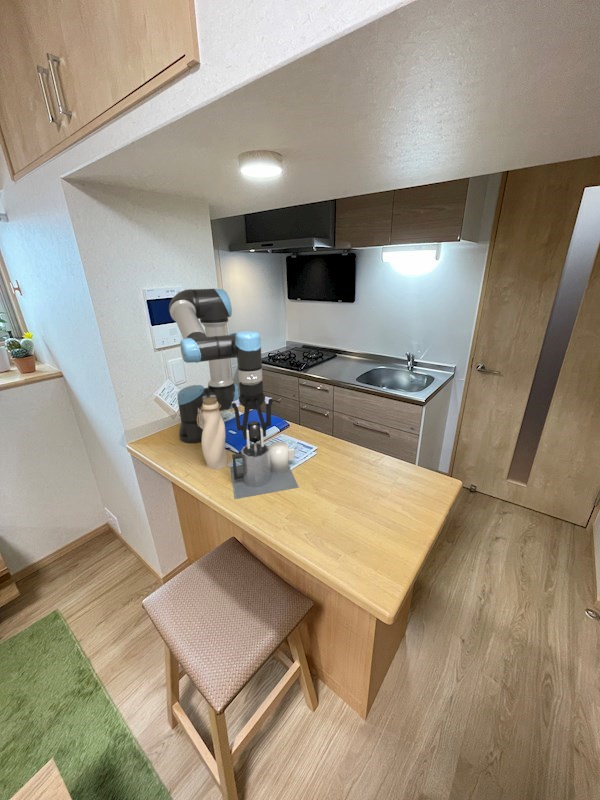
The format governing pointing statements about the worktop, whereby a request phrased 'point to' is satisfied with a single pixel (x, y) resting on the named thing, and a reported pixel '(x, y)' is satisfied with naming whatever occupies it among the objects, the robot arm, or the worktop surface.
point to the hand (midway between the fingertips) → (255, 445)
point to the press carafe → (254, 465)
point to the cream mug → (280, 457)
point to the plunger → (254, 434)
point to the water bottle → (212, 433)
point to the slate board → (276, 484)
